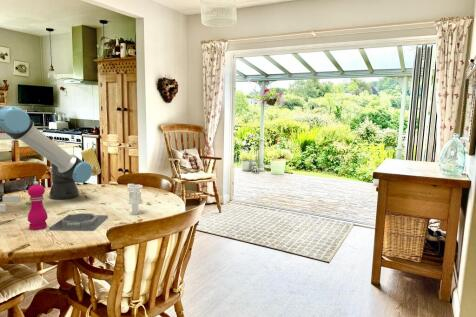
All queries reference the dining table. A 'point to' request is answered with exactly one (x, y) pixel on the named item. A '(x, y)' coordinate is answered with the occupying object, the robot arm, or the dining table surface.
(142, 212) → the dining table surface
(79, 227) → the collar plate
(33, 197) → the pepper mill
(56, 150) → the robot arm
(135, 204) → the white blocky figurine
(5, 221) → the dining table surface
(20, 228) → the dining table surface
